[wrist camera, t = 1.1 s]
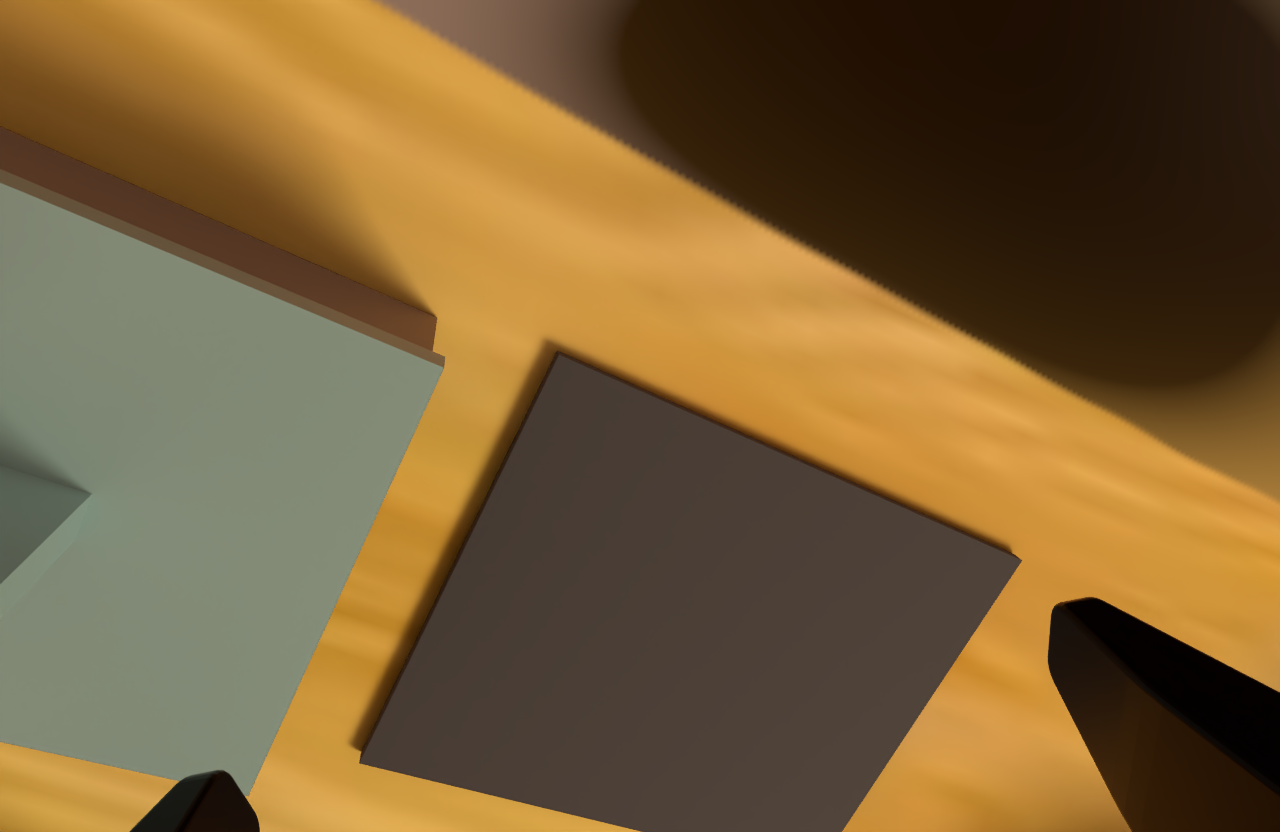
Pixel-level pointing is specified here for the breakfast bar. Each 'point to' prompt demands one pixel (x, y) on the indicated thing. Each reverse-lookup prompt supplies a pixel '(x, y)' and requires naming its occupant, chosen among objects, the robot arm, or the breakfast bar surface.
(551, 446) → the mat
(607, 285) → the breakfast bar surface
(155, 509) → the lid
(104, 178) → the tub
